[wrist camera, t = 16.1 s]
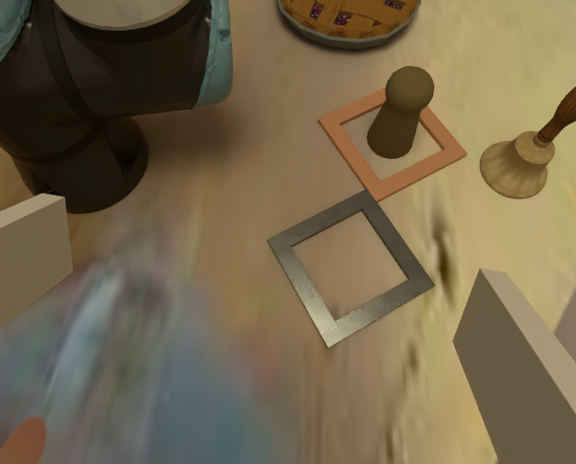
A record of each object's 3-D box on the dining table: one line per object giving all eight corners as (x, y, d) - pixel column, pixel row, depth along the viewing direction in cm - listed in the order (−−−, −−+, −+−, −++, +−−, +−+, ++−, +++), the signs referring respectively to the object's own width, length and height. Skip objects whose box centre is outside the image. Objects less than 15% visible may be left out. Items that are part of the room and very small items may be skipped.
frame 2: (267, 241, 47) (267, 239, 47) (366, 190, 50) (367, 188, 49) (328, 348, 43) (328, 347, 42) (433, 286, 45) (435, 285, 44)
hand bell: (469, 179, 50) (545, 92, 35) (492, 132, 53) (572, 32, 38) (533, 210, 49) (640, 132, 34) (554, 160, 51) (662, 67, 36)
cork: (375, 114, 54) (395, 50, 44) (418, 129, 53) (449, 67, 43) (360, 149, 52) (377, 90, 42) (404, 165, 51) (433, 109, 41)
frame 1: (318, 121, 53) (318, 118, 53) (403, 81, 56) (404, 78, 55) (375, 203, 49) (376, 201, 48) (465, 156, 51) (467, 153, 51)
